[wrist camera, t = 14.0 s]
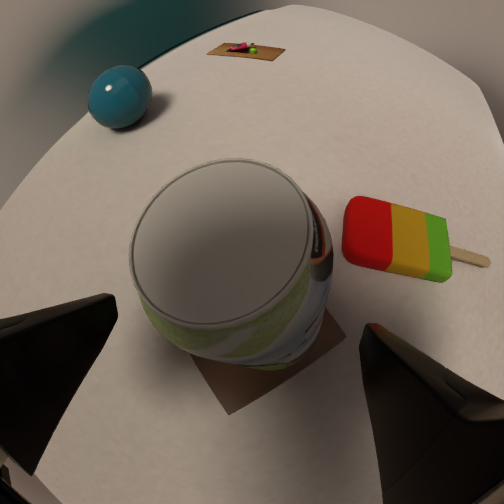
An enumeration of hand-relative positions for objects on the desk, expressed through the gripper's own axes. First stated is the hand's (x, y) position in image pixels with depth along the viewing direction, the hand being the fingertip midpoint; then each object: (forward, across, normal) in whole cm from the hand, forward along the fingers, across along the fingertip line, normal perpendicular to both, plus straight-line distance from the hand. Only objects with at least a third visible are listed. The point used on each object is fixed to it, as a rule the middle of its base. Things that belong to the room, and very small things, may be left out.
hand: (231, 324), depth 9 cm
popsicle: (+12, -14, 0) cm, 18 cm away
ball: (+23, +18, -11) cm, 31 cm away
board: (+38, +6, -26) cm, 47 cm away
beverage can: (+7, -1, +5) cm, 9 cm away
